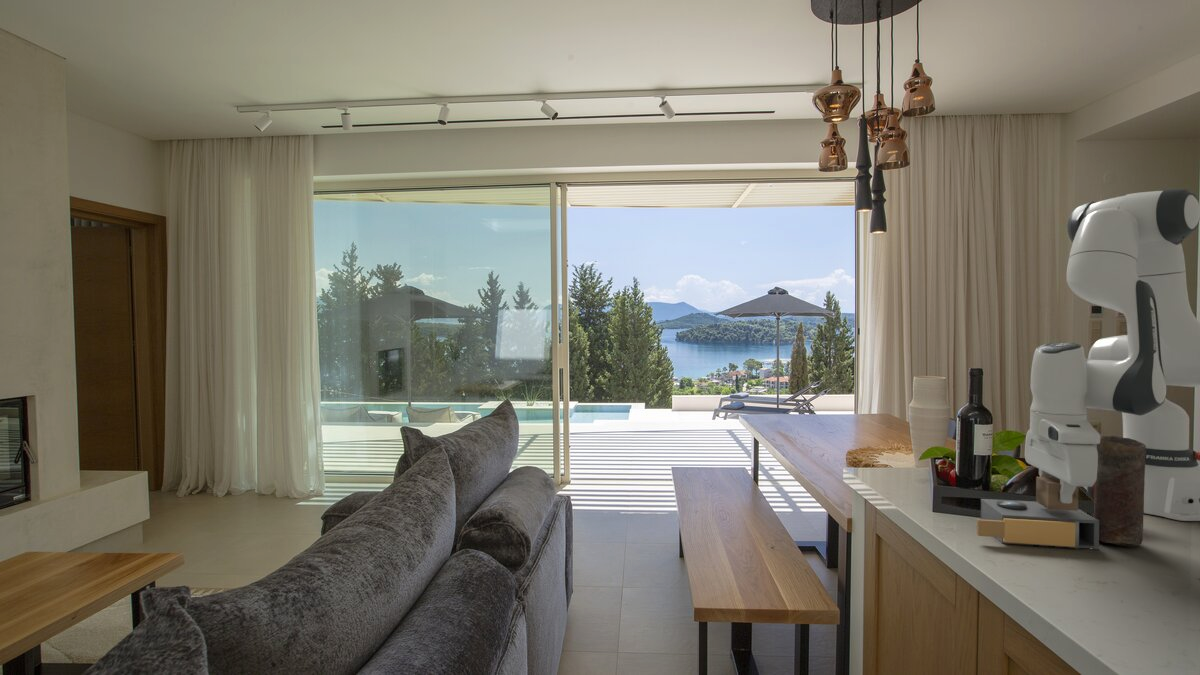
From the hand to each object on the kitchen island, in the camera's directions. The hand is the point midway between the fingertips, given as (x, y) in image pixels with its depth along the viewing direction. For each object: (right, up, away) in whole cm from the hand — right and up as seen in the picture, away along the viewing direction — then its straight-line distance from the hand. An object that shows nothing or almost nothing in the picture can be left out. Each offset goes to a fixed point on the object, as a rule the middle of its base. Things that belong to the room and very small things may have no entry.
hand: (1056, 497), depth 120 cm
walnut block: (0, -2, 0) cm, 2 cm away
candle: (+10, -8, -2) cm, 13 cm away
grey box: (-3, -8, +2) cm, 9 cm away
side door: (-8, -8, -3) cm, 12 cm away
